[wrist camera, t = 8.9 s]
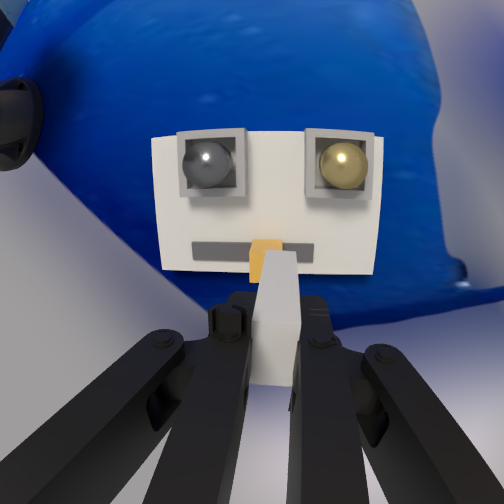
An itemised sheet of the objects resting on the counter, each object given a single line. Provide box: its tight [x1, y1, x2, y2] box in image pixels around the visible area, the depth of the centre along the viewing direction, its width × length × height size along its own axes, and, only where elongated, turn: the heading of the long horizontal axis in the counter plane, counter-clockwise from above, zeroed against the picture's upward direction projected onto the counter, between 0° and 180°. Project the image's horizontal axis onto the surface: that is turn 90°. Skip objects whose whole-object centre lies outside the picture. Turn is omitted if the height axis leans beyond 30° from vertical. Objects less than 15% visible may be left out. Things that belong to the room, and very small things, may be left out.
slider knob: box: [249, 239, 282, 283], centre depth 30 cm, size 3×3×4 cm
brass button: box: [319, 143, 368, 189], centre depth 25 cm, size 4×4×3 cm
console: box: [151, 128, 383, 275], centre depth 31 cm, size 24×15×6 cm, turn 91°
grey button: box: [182, 142, 233, 188], centre depth 26 cm, size 4×4×3 cm
